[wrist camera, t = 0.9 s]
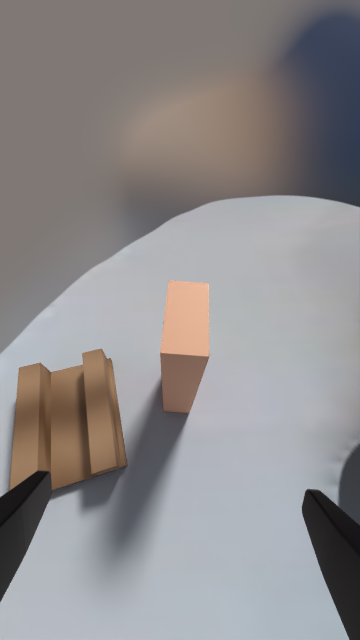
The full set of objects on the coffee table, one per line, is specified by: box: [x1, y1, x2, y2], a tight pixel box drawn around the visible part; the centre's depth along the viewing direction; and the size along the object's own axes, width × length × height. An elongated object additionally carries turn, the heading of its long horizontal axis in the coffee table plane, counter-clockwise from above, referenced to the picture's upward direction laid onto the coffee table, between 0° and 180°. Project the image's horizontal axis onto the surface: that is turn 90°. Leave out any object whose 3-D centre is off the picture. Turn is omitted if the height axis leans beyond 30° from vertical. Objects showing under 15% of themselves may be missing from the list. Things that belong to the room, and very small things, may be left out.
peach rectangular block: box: [160, 280, 209, 413], centre depth 19 cm, size 5×2×13 cm, turn 176°
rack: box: [9, 349, 127, 491], centre depth 21 cm, size 10×8×3 cm
